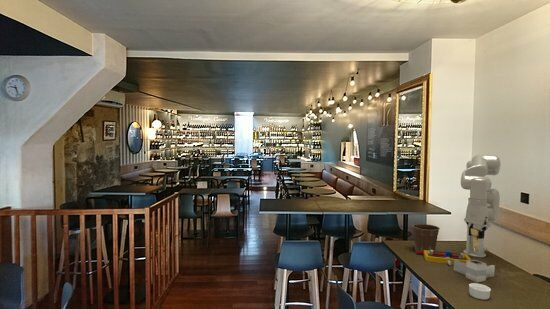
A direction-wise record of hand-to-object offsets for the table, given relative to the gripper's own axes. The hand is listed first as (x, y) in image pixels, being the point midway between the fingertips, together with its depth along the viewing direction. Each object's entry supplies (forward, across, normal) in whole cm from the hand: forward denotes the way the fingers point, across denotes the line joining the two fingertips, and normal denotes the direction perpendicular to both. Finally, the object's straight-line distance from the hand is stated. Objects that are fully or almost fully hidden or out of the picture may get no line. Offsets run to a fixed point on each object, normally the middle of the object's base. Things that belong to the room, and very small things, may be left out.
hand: (476, 236), depth 185 cm
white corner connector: (+22, -4, +5) cm, 23 cm away
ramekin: (+23, +16, -16) cm, 32 cm away
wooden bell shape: (+7, 0, 0) cm, 7 cm away
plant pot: (+23, -44, +9) cm, 50 cm away
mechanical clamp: (+23, -26, +7) cm, 36 cm away
